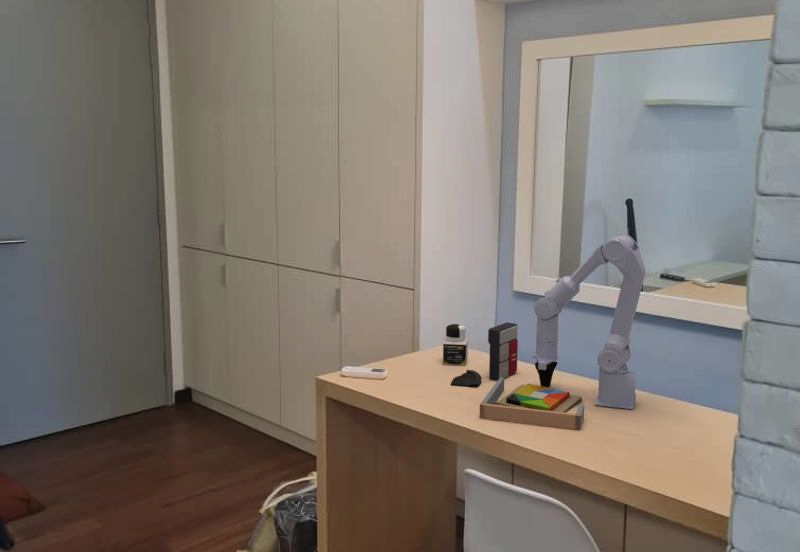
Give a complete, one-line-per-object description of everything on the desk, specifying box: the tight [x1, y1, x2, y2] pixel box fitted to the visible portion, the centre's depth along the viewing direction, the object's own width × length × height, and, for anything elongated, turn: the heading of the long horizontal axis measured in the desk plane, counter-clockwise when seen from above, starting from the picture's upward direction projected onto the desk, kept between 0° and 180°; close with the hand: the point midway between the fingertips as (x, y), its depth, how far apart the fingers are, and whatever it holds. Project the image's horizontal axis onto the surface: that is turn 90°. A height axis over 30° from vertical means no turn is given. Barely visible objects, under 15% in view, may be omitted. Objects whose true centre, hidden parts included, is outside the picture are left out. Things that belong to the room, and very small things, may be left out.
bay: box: [479, 378, 585, 431], centre depth 192 cm, size 24×24×4 cm
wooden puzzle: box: [493, 383, 583, 413], centre depth 196 cm, size 18×19×4 cm
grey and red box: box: [487, 322, 519, 382], centre depth 218 cm, size 11×4×15 cm, turn 143°
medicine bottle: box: [442, 323, 469, 367], centre depth 233 cm, size 7×7×12 cm
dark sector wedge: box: [450, 369, 483, 389], centre depth 216 cm, size 8×14×2 cm, turn 161°
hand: (545, 388), depth 205 cm, fingers closed
